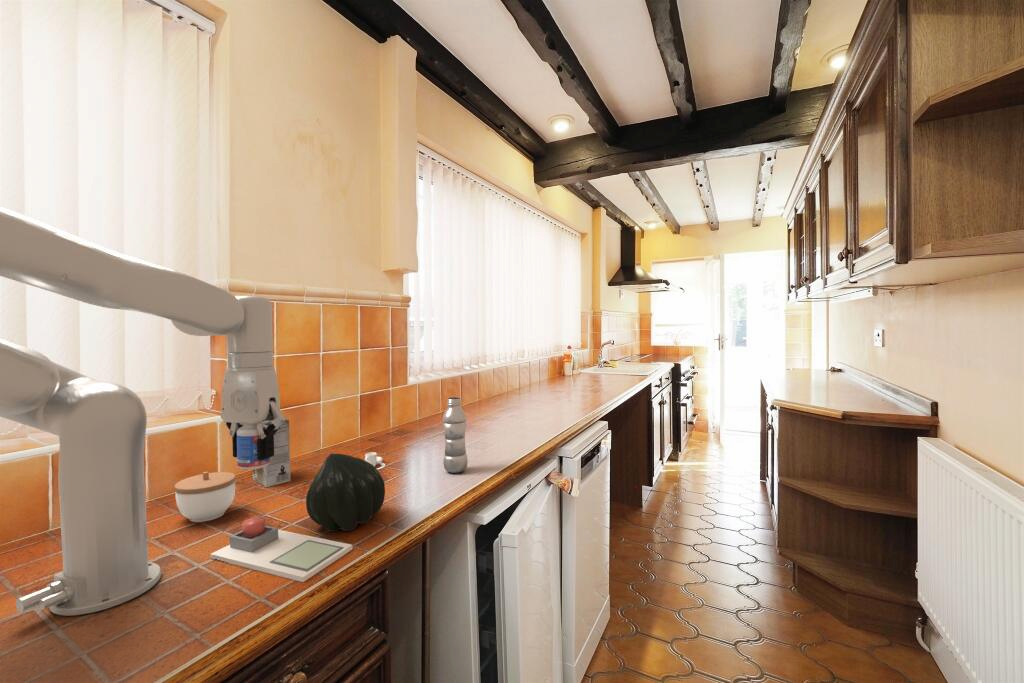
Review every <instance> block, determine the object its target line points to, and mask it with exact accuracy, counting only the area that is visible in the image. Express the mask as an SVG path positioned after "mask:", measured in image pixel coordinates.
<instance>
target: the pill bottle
mask: <svg viewBox="0 0 1024 683" xmlns="http://www.w3.org/2000/svg"><path fill="white" fill-rule="evenodd" d="M263 421H265V420H263ZM240 424H242V427H240V428H239V429H238V430H237V457H236V467H237V469H239V470H242V471H251V470H252V471H253V469H258V468H262V467H265V466H267V465H269V463H270V458H267V459H264V460H258V455H257V439H259V438H260V436H259V432H258V429H257V425H256V424H244V423H240ZM264 427H265V429H266V428H267V427H268V426H267V425H264Z"/></svg>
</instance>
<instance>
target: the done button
mask: <svg viewBox="0 0 1024 683" xmlns="http://www.w3.org/2000/svg"><path fill="white" fill-rule="evenodd" d="M241 526H242V529H241V531H242V530H243V536H245V537H252V536H257V535H260V534H262V533H264V532H265V530H266V526H267V525H266V517H263V516H254V517H251V518H248V519H246V520H244V521H243V522H242V525H241Z"/></svg>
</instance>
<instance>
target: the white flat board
mask: <svg viewBox="0 0 1024 683" xmlns="http://www.w3.org/2000/svg"><path fill="white" fill-rule="evenodd" d="M353 547H354V546H353V544H351V543H345V542H339V541H336V540H330V539H327V538H320V537H315V536H311V535H307V534H306V535H305V534H302V533H296V532H292V531H287V530H282V529H279V528H278V527H276V526H275V527H274V526H271V525H270V526H269V525H266V530H265V532H264V533H262V534H260V535H257V536H252V537H245V536H243V530H242V529H241V530H240V531H238V532H235V533H234V534H231V535H230V536H229V544H228V545H226V546H224V547H222V548H220V549H217V550H216V551H214V552H211V553H210V559H211V558H212V560H214V559H217V560H216V561H218V560H221V561H220V562H222V561H225V562H224V563H226V562H228V563H227V564H229V565H230V564H231V565H234V566H238V567H243V568H245V569H250V570H255V571H258V572H262V573H266V574H270V575H274V576H277V577H280V578H285V579H290V580H293V581H297V582H300V583H304V582H306V581H307V580H308V579H310V578H312V577H313V576H315V575H316V574H317V573H319V572H321V571H322V570H324V569H326V568H327V567H328V566H330V565H331V564H333V563H334V562H336V561H337V560H339V559H340V558H342V557H343V556H345V555H346V554H348V553H349V552H351V551H352V550H353Z"/></svg>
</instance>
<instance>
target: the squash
mask: <svg viewBox="0 0 1024 683" xmlns="http://www.w3.org/2000/svg"><path fill="white" fill-rule="evenodd" d="M385 494H386V487H385V480H384V479H383V477H382V475H381V472H380V471H379V469H378V470H377V468H376V466H375V467H374V466H373V465H372V464H370V463H369V462H367V461H365V459H362V458H360V457H355V456H352V455H348V454H343V453H333V452H332V453H329V455H328V456H327V457H326V459H325V460H324V461H323V463H322V465H321V467H320V468H319V470H318V472H317V473H316V475H315V476H314V478H313V480H312V482H311V484H310V485H309V488H308V490H307V493H306V498H305V506H306V507H305V508H306V512H307V513H308V517H309V518H310V519H311V520H312V521H313V522H314V523H316V524H317V525H319V526H321V527H323V528H324V529H325V530H327V531H329V532H337V531H340V530H343V531H344V532H347V531H348V532H349V531H352V530H354V529H355V528H356V526H358V524H365V523H367V522H369V520H370V519H371V517H374V516H375V515H376V514H377V513H379V511H380V510H381V508H382V507H383V505H384V501H385ZM323 528H322V529H323Z"/></svg>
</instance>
